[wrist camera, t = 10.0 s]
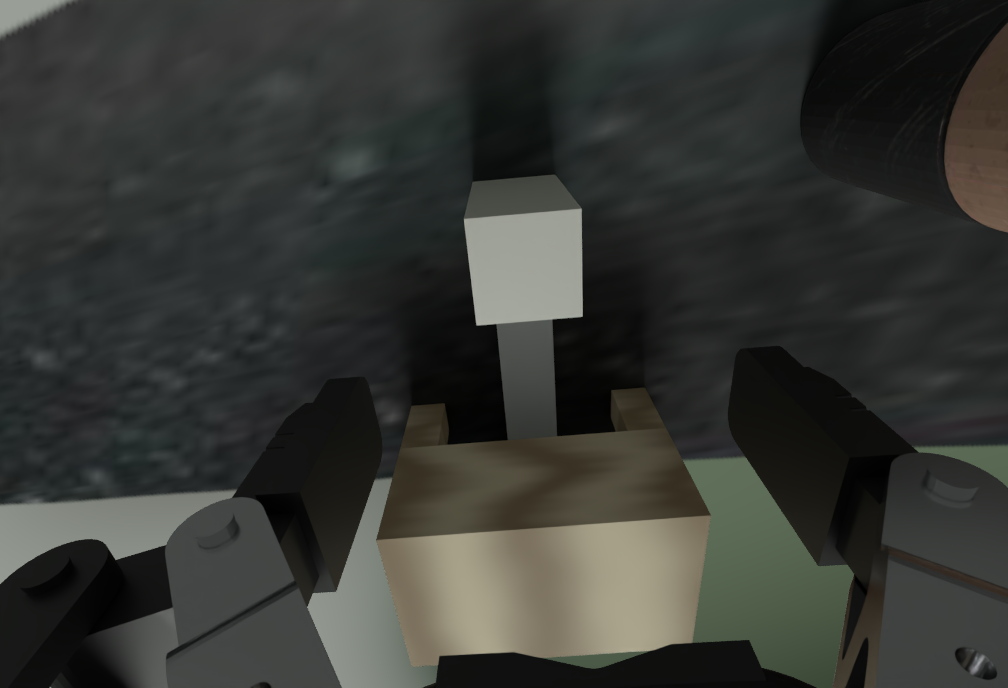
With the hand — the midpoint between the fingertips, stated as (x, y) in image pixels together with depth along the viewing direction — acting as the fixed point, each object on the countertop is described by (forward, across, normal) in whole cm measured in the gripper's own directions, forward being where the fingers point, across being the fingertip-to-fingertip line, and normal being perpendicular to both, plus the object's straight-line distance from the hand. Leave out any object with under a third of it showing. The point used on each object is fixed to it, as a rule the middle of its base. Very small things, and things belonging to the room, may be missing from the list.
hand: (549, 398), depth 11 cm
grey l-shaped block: (+16, 0, +6) cm, 17 cm away
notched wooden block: (+16, +1, +15) cm, 22 cm away
